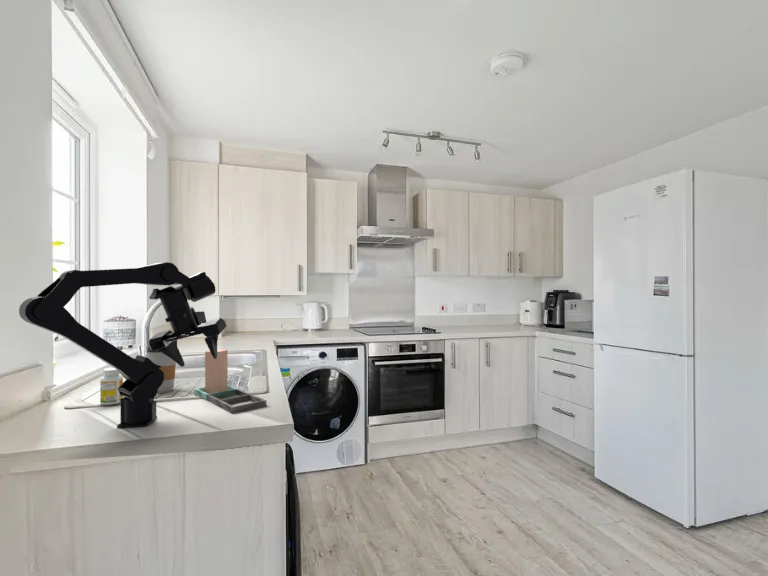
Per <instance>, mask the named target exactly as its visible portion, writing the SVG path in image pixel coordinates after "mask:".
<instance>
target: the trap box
mask: <svg viewBox="0 0 768 576" xmlns="http://www.w3.org/2000/svg"><path fill="white" fill-rule="evenodd" d="M194 395H196V396H198V395H199V396H198V397H200V396H202V397H203V398H202V397H201V398H202V399H204V398H205V399H206V400H205V399H204V400H205V401H207V400H208V401H207V402H209V401H210V403H211V402H212V403H211V404H213V403H214V404H213V405H215V406H217V407H219V408H221V409H223V410H225V411H226V412H229V413H230V414H235V413H241V412H245V411H250V410H254V409H258V408H264V407H267V399H265V398H262V397H259V396H257V395H256V394H255V395H254V394H252V393H249V392H247V391H245V390H242V389H240V388H237V387H235V386H232V385H230V384H228V390H226V391H221V392H215V393H210V394H208V393H206V392H205V386H204V387H199V388H194ZM247 401H250V402H249V403H243V404H238V405H232V404H236V403H241V402H247Z"/></svg>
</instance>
